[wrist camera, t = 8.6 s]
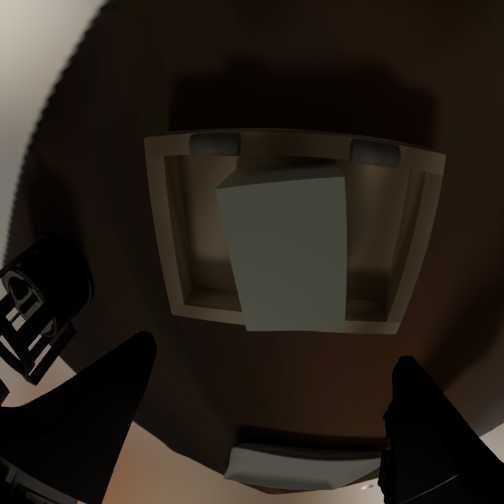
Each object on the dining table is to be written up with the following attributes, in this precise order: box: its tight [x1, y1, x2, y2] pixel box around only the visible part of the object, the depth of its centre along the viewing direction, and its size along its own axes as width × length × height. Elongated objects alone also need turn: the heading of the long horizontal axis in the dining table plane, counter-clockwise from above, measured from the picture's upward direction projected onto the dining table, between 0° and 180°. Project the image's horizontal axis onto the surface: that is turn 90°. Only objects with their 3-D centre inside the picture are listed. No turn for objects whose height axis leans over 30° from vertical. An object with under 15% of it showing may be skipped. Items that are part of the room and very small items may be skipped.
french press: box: [0, 233, 94, 407], centre depth 16 cm, size 12×9×23 cm
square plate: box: [224, 442, 382, 490], centre depth 40 cm, size 27×27×4 cm
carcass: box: [144, 128, 446, 334], centre depth 17 cm, size 17×13×4 cm
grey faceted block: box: [215, 160, 347, 331], centre depth 16 cm, size 6×9×4 cm, turn 10°
